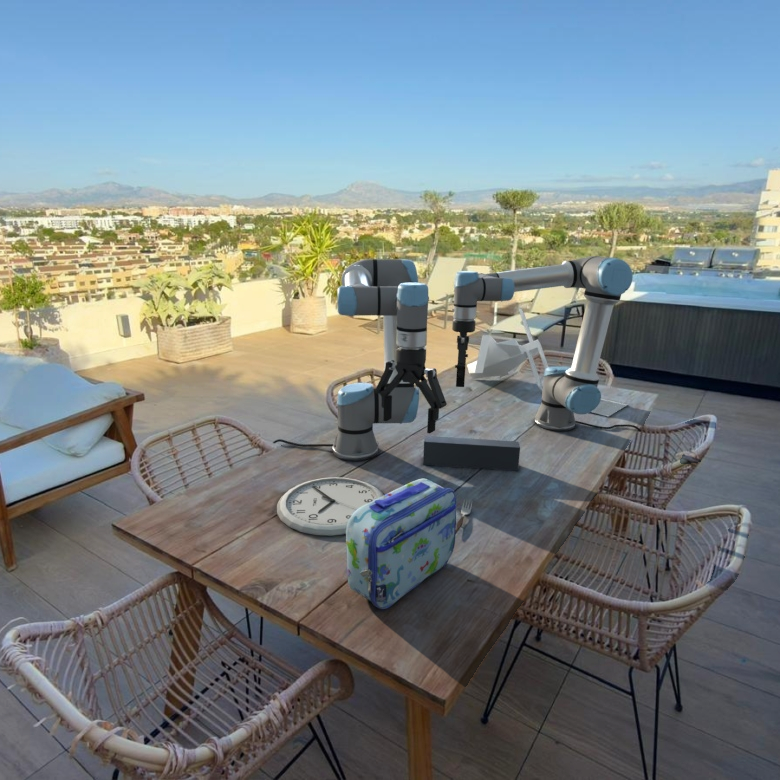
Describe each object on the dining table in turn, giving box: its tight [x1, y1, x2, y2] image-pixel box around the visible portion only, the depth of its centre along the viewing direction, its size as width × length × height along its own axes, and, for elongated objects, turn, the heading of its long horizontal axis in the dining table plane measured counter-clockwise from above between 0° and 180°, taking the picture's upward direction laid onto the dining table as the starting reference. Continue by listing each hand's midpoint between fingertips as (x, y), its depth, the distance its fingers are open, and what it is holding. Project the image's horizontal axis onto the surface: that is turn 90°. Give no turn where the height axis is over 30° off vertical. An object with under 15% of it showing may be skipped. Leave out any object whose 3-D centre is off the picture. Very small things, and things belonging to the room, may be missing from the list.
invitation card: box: [590, 398, 628, 418], centre depth 226 cm, size 21×1×15 cm
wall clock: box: [276, 476, 385, 537], centre depth 143 cm, size 30×2×30 cm
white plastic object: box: [466, 307, 550, 392], centre depth 256 cm, size 37×45×31 cm
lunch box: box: [345, 477, 457, 610], centre depth 110 cm, size 26×11×21 cm, turn 134°
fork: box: [455, 498, 473, 536], centre depth 136 cm, size 3×16×2 cm, turn 160°
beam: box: [422, 435, 521, 472], centre depth 168 cm, size 30×5×8 cm, turn 83°
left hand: (408, 425), depth 137 cm, fingers open, 13 cm apart
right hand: (460, 381), depth 179 cm, fingers open, 13 cm apart
